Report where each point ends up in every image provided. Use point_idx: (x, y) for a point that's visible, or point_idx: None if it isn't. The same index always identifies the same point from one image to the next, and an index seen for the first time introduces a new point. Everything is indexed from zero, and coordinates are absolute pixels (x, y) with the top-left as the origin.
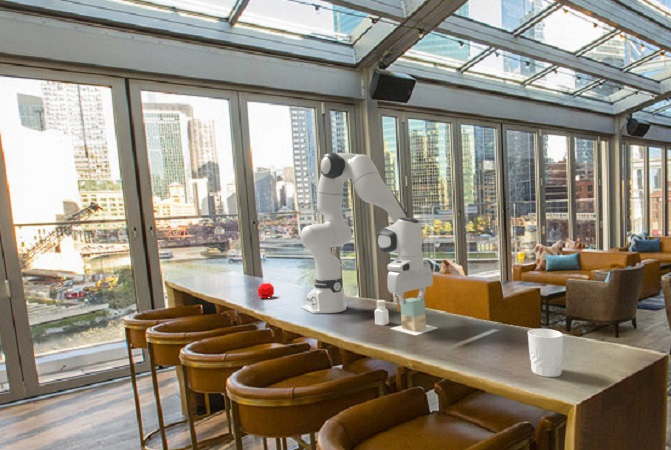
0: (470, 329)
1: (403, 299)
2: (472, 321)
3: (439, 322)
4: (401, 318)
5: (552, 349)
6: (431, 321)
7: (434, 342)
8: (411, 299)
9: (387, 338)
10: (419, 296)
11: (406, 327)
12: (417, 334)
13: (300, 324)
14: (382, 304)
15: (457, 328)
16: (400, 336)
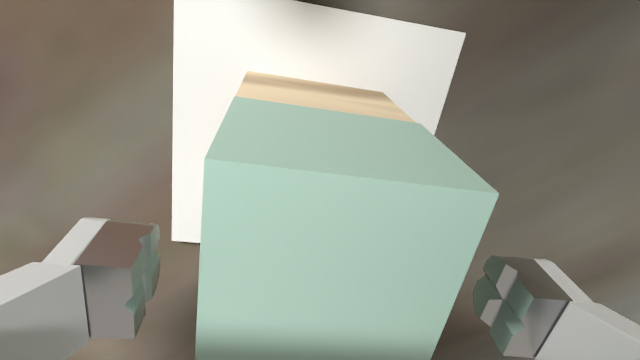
0: (480, 343)
1: (58, 347)
2: (632, 293)
3: (569, 167)
4: (239, 89)
5: None
6: (582, 111)
7: (188, 327)
8: (362, 265)
9: (25, 81)
10: (512, 315)
11: None
12: (194, 239)
13: None
14: None
15: None
16: (137, 132)
